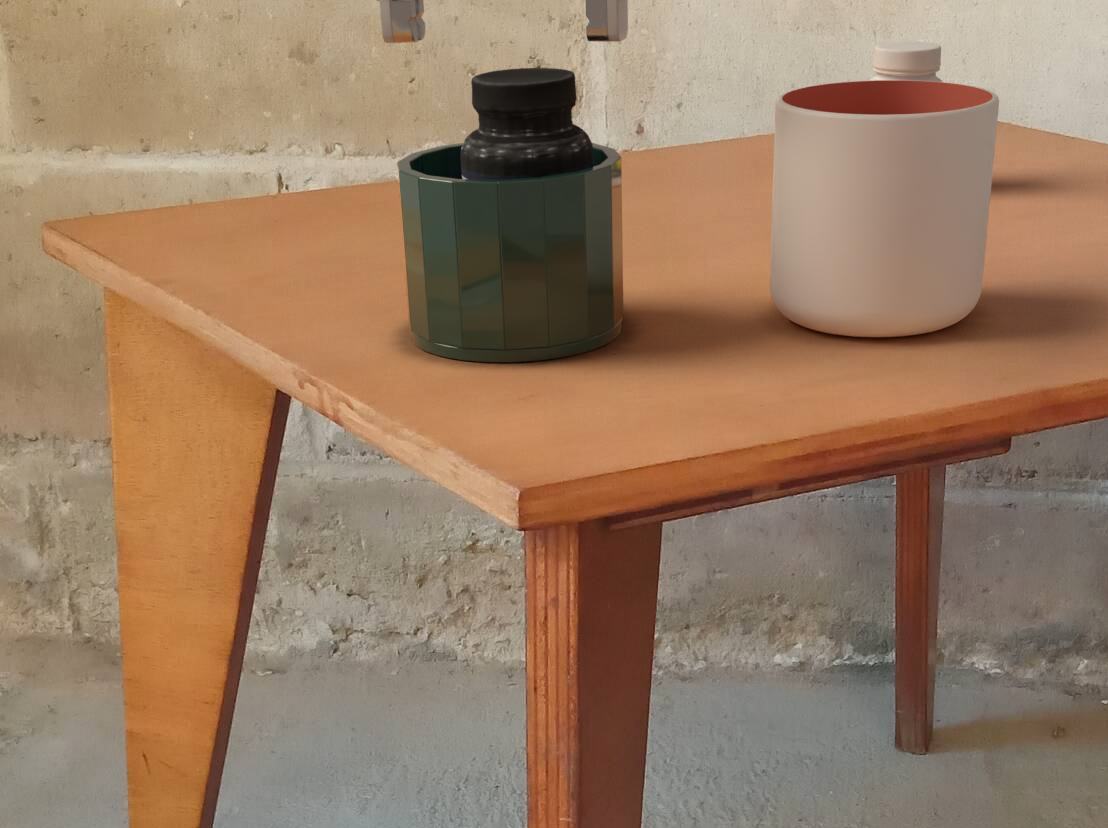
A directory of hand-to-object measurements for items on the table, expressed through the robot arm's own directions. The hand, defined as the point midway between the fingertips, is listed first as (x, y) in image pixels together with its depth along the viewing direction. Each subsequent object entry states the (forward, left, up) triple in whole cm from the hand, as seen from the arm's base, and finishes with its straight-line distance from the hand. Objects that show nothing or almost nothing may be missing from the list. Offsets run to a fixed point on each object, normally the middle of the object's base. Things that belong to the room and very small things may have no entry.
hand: (504, 40), depth 75 cm
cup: (-16, -5, -13) cm, 22 cm away
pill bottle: (-1, 0, -13) cm, 13 cm away
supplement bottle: (-15, -34, -13) cm, 39 cm away
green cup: (0, 0, -13) cm, 13 cm away
